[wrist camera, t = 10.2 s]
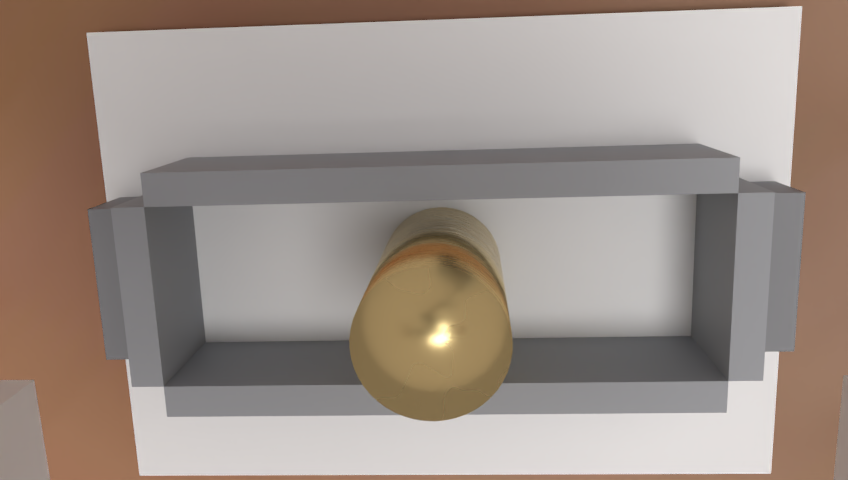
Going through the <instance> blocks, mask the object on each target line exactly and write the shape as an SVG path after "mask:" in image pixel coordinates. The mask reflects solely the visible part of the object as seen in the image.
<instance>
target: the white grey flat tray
mask: <svg viewBox="0 0 848 480" xmlns="http://www.w3.org/2000/svg"><path fill="white" fill-rule="evenodd" d="M801 17H802V6H793V7H766V8H739V9H712V10H685V11H658V12H631V13H604V14H577V15H550V16H524V17H497V18H470V19H443V20H416V21H389V22H362V23H335V24H308V25H281V26H254V27H227V28H200V29H173V30H146V31H119V32H92V33H86V34H87V42H88V51H89V59H90V67H91V76H92V84H93V92H94V101H95V109H96V117H97V126H98V134H99V142H100V151H101V159H102V167H103V176H104V184H105V192H106V200H107V202H106V203H104V204H101V205H98V206H96V207H93V208H90V209H88V217H89V224H90V232H91V240H92V248H93V256H94V264H95V272H96V280H97V288H98V296H99V304H100V312H101V320H102V328H103V336H104V344H105V352H106V360H112V359H126V367H127V375H128V384H129V392H130V400H131V408H132V417H133V425H134V433H135V442H136V450H137V458H138V467H139V475H140V476H166V475H491V474H771V465H772V451H773V436H774V421H775V406H776V391H777V376H778V361H779V351H794V347H795V333H796V319H797V305H798V291H799V277H800V263H801V249H802V235H803V220H804V206H805V192H802V191H800V190H797V189H794V188H792V187H790V181H791V166H792V151H793V136H794V121H795V106H796V91H797V76H798V61H799V46H800V32H801ZM437 207H447V208H454V209H458V210H461V211H464V212H466V213H468V214H470V215H472V216H473V217H475V218H476V219H478V220H479V221H480V222H482V224H483V225H484V226H485V227H486V228H487V229H488V230H489V232H490V233H491V234H492V236H493V238H494V240H495V242H496V244H497V247H498V251H499V255H500V261H501V267H502V274H503V280H504V286H505V293H506V299H507V305H508V312H509V318H510V324H511V331H512V339H513V352H512V358H511V363H510V367H509V370H508V373H507V375H506V377H505V379H504V381H503V383H502V384H501V386H500V387H499V389H498V390H497V391H496V392H495V394H494V395H493V396H492V397H491V398H490V399H489V400H488V401H487V402H485V403H484V404H483V405H482V406H480V407H479V408H477V409H476V410H474V411H472V412H470V413H468V414H466V415H463V416H460V417H458V418H454V419H449V420H444V421H422V420H415V419H411V418H408V417H404V416H402V415H399V414H397V413H395V412H393V411H391V410H389V409H387V408H386V407H384V406H383V405H382V404H380V403H379V402H378V401H376V400H375V399H374V398H373V397H372V396H371V395H370V394H369V392H368V391H367V390H366V389H365V388H364V386H363V385H362V383H361V381H360V380H359V378H358V376H357V374H356V372H355V369H354V367H353V363H352V360H351V355H350V348H349V337H350V329H351V325H352V321H353V318H354V315H355V313H356V311H357V308H358V306H359V304H360V302H361V300H362V298H363V295H364V293H365V291H366V289H367V287H368V284H369V282H370V280H371V278H372V276H373V274H374V271H375V269H376V267H377V265H378V263H379V261H380V258H381V256H382V254H383V252H384V250H385V248H386V245H387V243H388V241H389V239H390V237H391V235H392V234H393V232H394V231H395V230H396V228H397V227H398V226H399V225H400V224H401V223H402V222H403V221H404V220H406V219H407V218H408V217H410V216H411V215H413V214H415V213H417V212H420V211H422V210H425V209H430V208H437Z"/></svg>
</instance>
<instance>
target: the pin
mask: <svg viewBox="0 0 848 480" xmlns="http://www.w3.org/2000/svg"><path fill="white" fill-rule="evenodd" d="M349 348H350V355H351V360H352V363H353V367H354V369H355V372H356V374H357V376H358V378H359V380H360V381H361V383H362V385H363V386H364V388H365V389H366V390H367V391H368V392H369V394H370V395H371V396H372V397H373V398H374V399H375V400H376V401H378V402H379V403H380V404H382V405H383V406H384V407H386V408H387V409H389V410H391V411H393V412H395V413H397V414H399V415H402V416H404V417H408V418H411V419H415V420H422V421H444V420H449V419H454V418H458V417H460V416H463V415H466V414H468V413H470V412H472V411H474V410H476V409H477V408H479V407H480V406H482V405H483V404H484V403H485V402H487V401H488V400H489V399H490V398H491V397H492V396H493V395H494V394H495V392H496V391H497V390H498V389H499V387H500V386H501V384H502V383H503V381H504V379H505V377H506V375H507V373H508V370H509V367H510V363H511V358H512V352H513V339H512V331H511V324H510V318H509V312H508V305H507V299H506V293H505V286H504V280H503V274H502V267H501V261H500V255H499V251H498V247H497V244H496V242H495V240H494V238H493V236H492V234H491V233H490V232H489V230H488V229H487V228H486V227H485V226H484V225H483V224H482V222H480V221H479V220H478V219H476V218H475V217H473V216H472V215H470V214H468V213H466V212H464V211H461V210H458V209H454V208H447V207H437V208H430V209H425V210H422V211H420V212H417V213H415V214H413V215H411V216H410V217H408V218H407V219H406V220H404V221H403V222H402V223H401V224H400V225H399V226H398V227H397V228H396V230H395V231H394V232H393V234H392V235H391V237H390V239H389V241H388V243H387V245H386V248H385V250H384V252H383V254H382V256H381V258H380V261H379V263H378V265H377V267H376V269H375V271H374V274H373V276H372V278H371V280H370V282H369V284H368V287H367V289H366V291H365V293H364V295H363V298H362V300H361V302H360V304H359V306H358V308H357V311H356V313H355V315H354V318H353V321H352V325H351V329H350V337H349Z"/></svg>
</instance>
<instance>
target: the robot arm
mask: <svg viewBox="0 0 848 480" xmlns="http://www.w3.org/2000/svg"><path fill="white" fill-rule="evenodd" d="M0 480H50V476H49V470H48V464H47V457H46V451H45V445H44V439H43V432H42V426H41V420H40V414H39V407H38V401H37V395H36V389H35V382H34V380H0ZM834 480H848V375H844V376H843V387H842V397H841V408H840V418H839V429H838V439H837V449H836V460H835V470H834Z"/></svg>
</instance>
